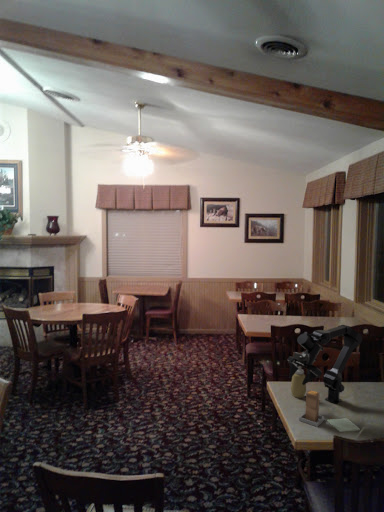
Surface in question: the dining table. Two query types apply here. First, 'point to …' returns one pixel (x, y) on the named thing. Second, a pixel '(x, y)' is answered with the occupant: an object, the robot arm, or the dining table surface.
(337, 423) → the sage pad
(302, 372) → the squeeze bottle
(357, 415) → the dining table surface
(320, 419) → the grey square tray
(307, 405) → the walnut box
